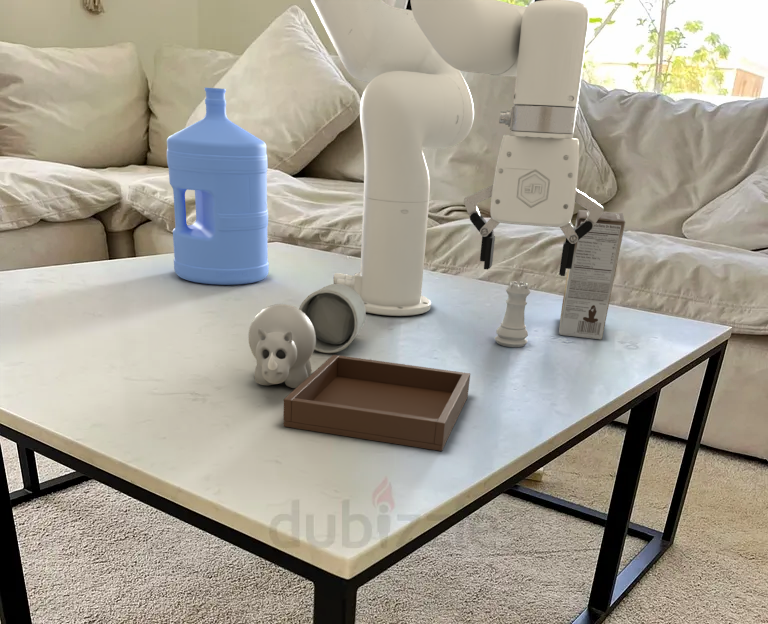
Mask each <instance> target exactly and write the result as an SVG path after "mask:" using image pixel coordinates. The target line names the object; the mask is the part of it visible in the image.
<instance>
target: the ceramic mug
mask: <svg viewBox="0 0 768 624" xmlns="http://www.w3.org/2000/svg"><path fill="white" fill-rule="evenodd" d="M298 309H299V310H301V311H302V312H303V313H305V314H306V315H307V317H308V318H309V319H310V321H311V322H312V324H313V327H314V330H315V335H316V344H315V349H314V351H317V352H319V353H322V354H323V353H324V354H334V353H339V352H341V351H343V350H345V349H346V348H348V347H349V346H350V345H351V344H352V343H353V341H354V339H355V338H356V337H357V336H358V334H359V333H360V332H361V331H362V329H363V327H364V324H365V321H366V317H367V316H366V313H367V312H366V310H365V305H364V302H363V300H362V298H361V296H360V295H359V294H358V293H357V292H356V291H355V290H354V289H352V288H351V287H348V286H346V285H342V284H334V283H332V284H328V285H326V286H323V287H321V288H319V289H318V290H316V291H313V292H311V293H310V294H309V295H308V296H306V297H305V299H304V300H303V301H302V302H301V303H300V305H299V308H298Z"/></svg>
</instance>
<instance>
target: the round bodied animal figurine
mask: <svg viewBox="0 0 768 624" xmlns="http://www.w3.org/2000/svg"><path fill="white" fill-rule="evenodd" d="M247 338H248V346H249V349H250V351H251V354H252V356H253V357H254V358H255V360H256V365H255V368H254V374H253V375H254V381H255V382H256V383H257V384H259V385H261V386H273V385H278V384H282V383H284V384H285V386H286V387H288V388H292V389H296V388H297V387H298V386H299V385H300V384H301V383H302V382H303V381H305V380H306V379H307V378H308V377H309V376H310V375H311V374H312V364H311V360H310V359H311V358H312V355H313V353H314V352H315V350H314V349H315V344H316V335H315V330H314V327H313V324H312V322H311V321H310V319H309V318H308V317H307V315H306V314H305V313H303V312H302V311H301V310H299V308H298V307H295V306H293V305H290V304H285V303H277V304H272V305H270V306H267V307H265V308H263V309H262V310H261V311H259V312H258V313H257V314H256V316H254V318H253V320H252V321H251V323H250V326H249V330H248V337H247Z"/></svg>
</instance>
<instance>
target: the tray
mask: <svg viewBox="0 0 768 624" xmlns="http://www.w3.org/2000/svg"><path fill="white" fill-rule="evenodd" d="M470 379H471V373H470V372H463V371H454V370H450V369H449V370H448V369H441V368H435V367H426V366H418V365H412V364H405V363H397V362H390V361H382V360H376V359H367V358H361V357H353V356H346V355H337V354H332V355H331V356H330V357H329V358H328V359H327V360H325V361H324V363H322V364H320V366H319V367H318V368H317V369H315V370H314V371H313V372H311V374H310V375H309V376H308V378H307V379H306V380H305V381H303V382H302V383H301V384H300V385H299V386H298V387H297V388H294V389H293V390H291V392H290V393H288V395H287V396H285V398H283V427H286V428H292V429H299V430H305V431H310V432H317V433H323V434H324V433H325V434H330V435H336V436H342V437H348V438H355V439H362V440H369V441H375V442H380V443H381V442H382V443H387V444H394V445H401V446H406V447H411V448H412V447H413V448H420V449H425V450H433V451H438V452H439V451H440V452H442V451H443V450H444V447H445V446H446V443H447V441H448V440H449V437H450V435H451V433H452V431H453V429H454V427H455V424H456V422H457V421H458V418H459V416H460V414H461V412H462V410H463V408H464V406H465V404H466V401H467V399H468V397H469V389H470Z"/></svg>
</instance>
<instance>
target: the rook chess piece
mask: <svg viewBox="0 0 768 624" xmlns="http://www.w3.org/2000/svg"><path fill="white" fill-rule="evenodd" d="M529 286H530V285H529V283H528V282H524V281H520V282H519V284H518V281H515V280H513V281H509V283H508V286H507V287H506V288H505V292H506V294H507V296H508V297H507V299H506V300H505V303H506V308H505V311H504V316H503V319H502V321H501V322H500V325H499V326H498V327H497V329H496V332H495V333H496V334H497V335H496V336H495V337H494V340H495V342H496V343H497V344H498V345H500V346H503V347H507V348H523V347H524V346H526V345H527V343H528V339H527V338H528V336H529V332H528V330H527V329H526V328H527V325H526V324H525V309H526V305H527V304H528V302H527V297H528V296H529V295H530V294H531V290H530V288H529Z"/></svg>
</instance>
